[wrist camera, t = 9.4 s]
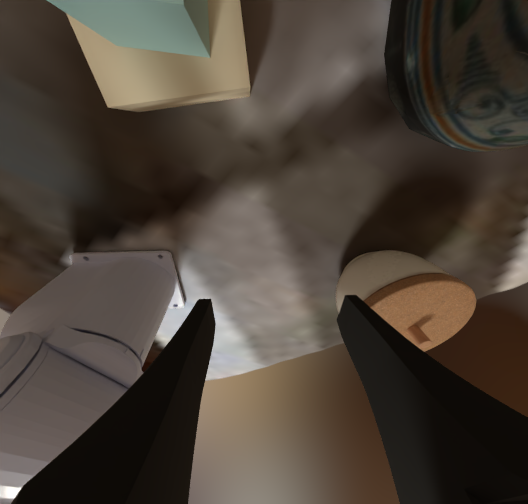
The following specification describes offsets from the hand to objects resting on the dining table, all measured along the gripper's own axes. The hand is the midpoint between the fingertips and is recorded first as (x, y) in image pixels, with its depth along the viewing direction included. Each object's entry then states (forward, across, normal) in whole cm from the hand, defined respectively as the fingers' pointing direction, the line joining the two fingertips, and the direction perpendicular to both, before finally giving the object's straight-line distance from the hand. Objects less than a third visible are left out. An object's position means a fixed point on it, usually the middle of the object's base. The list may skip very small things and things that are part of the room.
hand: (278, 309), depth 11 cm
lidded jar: (+11, -12, +6) cm, 18 cm away
